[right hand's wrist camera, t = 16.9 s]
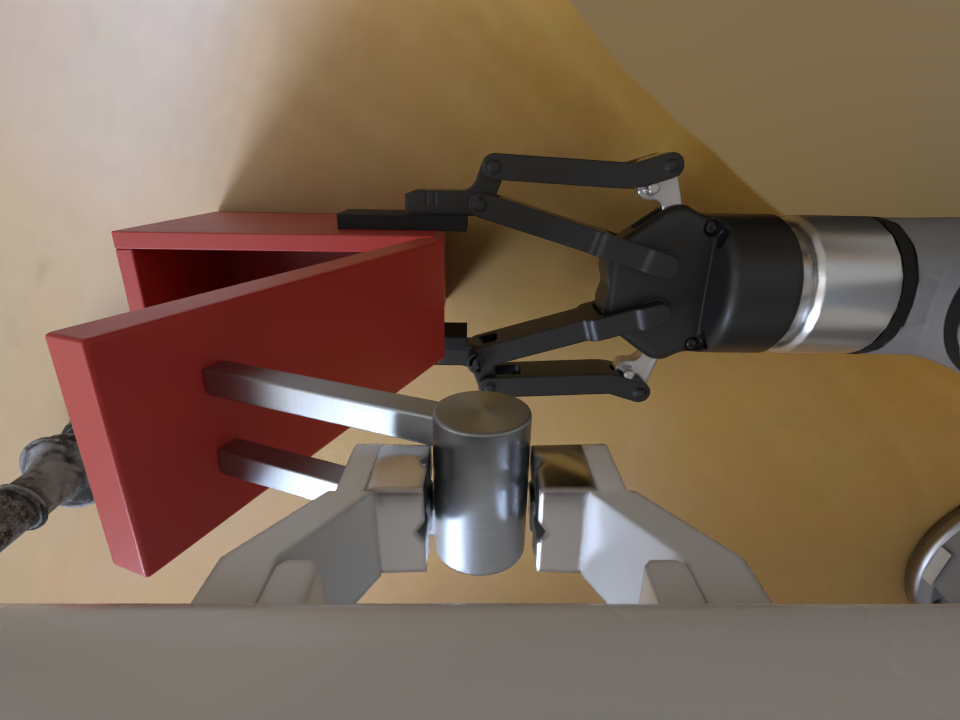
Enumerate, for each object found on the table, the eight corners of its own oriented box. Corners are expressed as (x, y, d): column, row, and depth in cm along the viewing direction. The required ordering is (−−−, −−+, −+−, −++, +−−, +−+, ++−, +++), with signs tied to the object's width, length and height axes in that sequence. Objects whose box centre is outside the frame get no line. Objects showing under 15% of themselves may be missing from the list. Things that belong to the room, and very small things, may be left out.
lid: (111, 565, 12) (473, 715, 9) (41, 332, 10) (477, 420, 7) (423, 353, 26) (609, 383, 22) (421, 237, 24) (624, 251, 20)
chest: (230, 297, 35) (138, 347, 26) (216, 211, 33) (110, 231, 24) (445, 300, 36) (435, 351, 26) (445, 215, 34) (433, 236, 24)
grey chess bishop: (57, 405, 38) (-116, 506, 27) (138, 424, 39) (1, 531, 28) (58, 469, 40) (-103, 588, 29) (135, 486, 41) (6, 609, 30)
